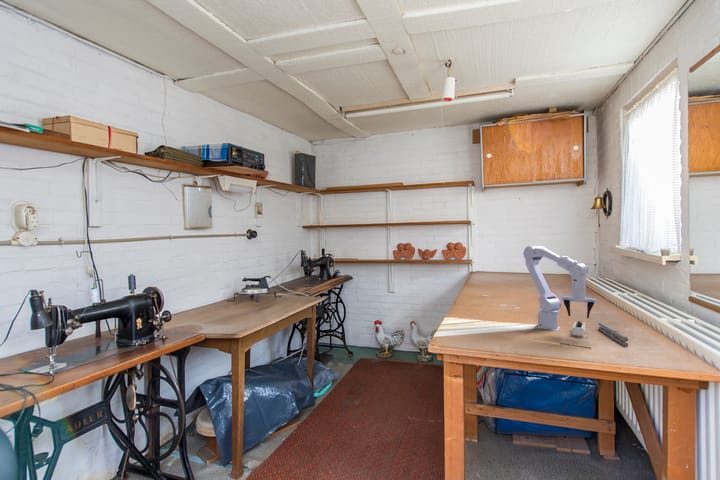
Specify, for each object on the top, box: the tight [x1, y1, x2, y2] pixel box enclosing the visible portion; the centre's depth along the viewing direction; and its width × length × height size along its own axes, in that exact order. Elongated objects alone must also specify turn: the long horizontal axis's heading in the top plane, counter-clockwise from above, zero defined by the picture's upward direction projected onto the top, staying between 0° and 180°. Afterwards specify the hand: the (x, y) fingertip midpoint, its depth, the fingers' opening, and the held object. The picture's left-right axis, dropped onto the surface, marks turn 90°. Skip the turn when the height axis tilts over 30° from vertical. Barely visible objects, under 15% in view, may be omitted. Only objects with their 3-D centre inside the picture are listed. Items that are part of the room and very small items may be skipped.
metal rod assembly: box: [597, 321, 629, 347], centre depth 169 cm, size 26×3×5 cm, turn 168°
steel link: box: [571, 321, 586, 337], centre depth 176 cm, size 4×12×4 cm, turn 144°
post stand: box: [567, 321, 591, 340], centre depth 176 cm, size 8×16×6 cm, turn 144°
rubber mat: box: [558, 342, 592, 350], centre depth 164 cm, size 12×12×1 cm
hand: (578, 316), depth 174 cm, fingers open, 7 cm apart
